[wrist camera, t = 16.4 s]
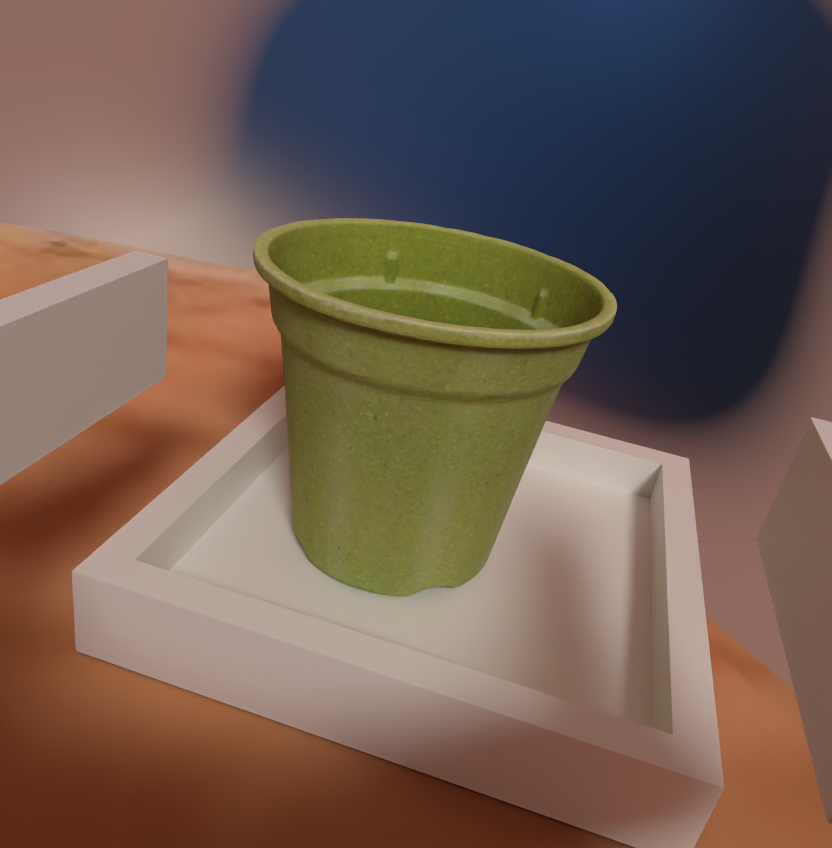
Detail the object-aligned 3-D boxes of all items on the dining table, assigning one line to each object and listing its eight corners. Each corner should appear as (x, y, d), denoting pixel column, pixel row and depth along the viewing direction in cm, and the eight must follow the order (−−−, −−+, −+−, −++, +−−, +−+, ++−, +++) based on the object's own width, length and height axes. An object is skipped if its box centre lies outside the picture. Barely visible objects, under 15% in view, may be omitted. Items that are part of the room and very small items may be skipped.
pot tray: (75, 650, 19) (71, 570, 18) (308, 413, 32) (314, 359, 31) (684, 865, 17) (724, 788, 16) (668, 513, 30) (688, 458, 29)
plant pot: (168, 571, 21) (174, 258, 17) (315, 432, 29) (343, 199, 25) (501, 693, 19) (596, 372, 15) (558, 507, 27) (630, 267, 23)
